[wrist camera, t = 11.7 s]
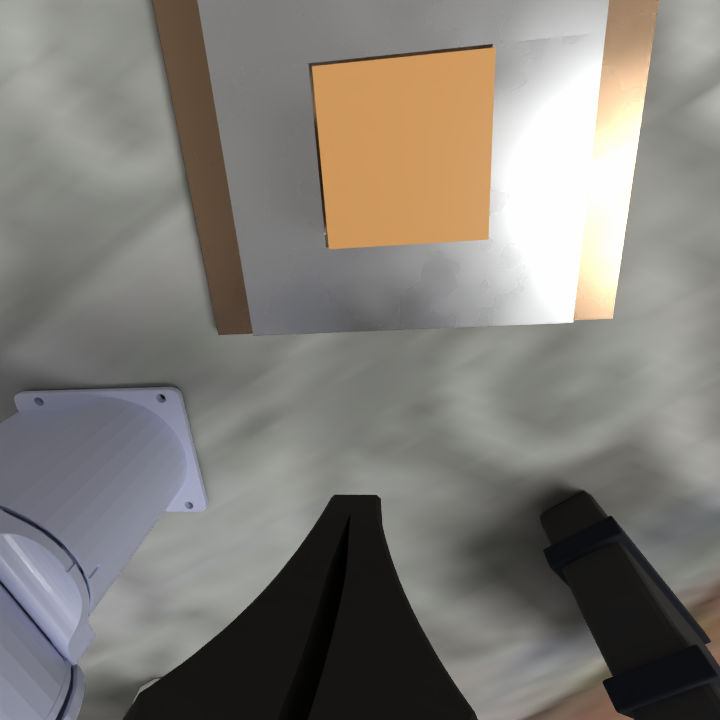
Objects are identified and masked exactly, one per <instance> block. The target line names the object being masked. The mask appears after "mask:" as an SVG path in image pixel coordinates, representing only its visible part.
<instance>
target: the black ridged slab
mask: <svg viewBox="0 0 720 720" xmlns="http://www.w3.org/2000/svg"><path fill="white" fill-rule="evenodd" d="M540 520H541V524H542V526H543V528H544V530H545V533H546V535H547V537H548V539H549V542H550V544H551V546H550V547H548V548H546V549H544V550H543V551H544V554H545V556H546V558H547V561H548V563H549V566H550V567H551V568H552V569H553V571H554V572H555V573H556V574H557V575H558V576H559V577H560V578H561V579H562V580H563V581H564V582H565V583H566V584H567V585H568V586H569V587H570V588H571V590H572V593H573V595H574V597H575V599H576V601H577V604H578V606H579V608H580V610H581V612H582V614H583V617H584V619H585V621H586V623H587V625H588V627H589V629H590V631H591V633H592V635H593V637H594V639H595V641H596V643H597V645H598V647H599V649H600V651H601V653H602V655H603V657H604V659H605V662H606V664H607V666H608V668H609V670H610V672H611V674H612V676H613V677H611V678H608V679H606V680H604V681H603V685H604V687H605V689H606V691H607V693H608V695H609V697H610V699H611V701H612V703H613V705H614V707H615V709H616V711H617V712H618V713H620V714H623V715H626V716H628V717H631V718H633V719H634V720H720V666H719V665H718V663H717V662H716V660H715V659H714V657H713V656H712V654H711V653H710V651H709V650H708V649H707V647H706V646H705V644H707V643H710V642H711V641H710V639H709V638H708V636H707V635H706V633H705V632H704V631H703V629H702V628H701V627H700V626H699V624H698V623H697V622H696V621H695V619H694V618H693V617H692V616H691V614H690V613H689V612H688V611H687V609H686V608H685V607H684V606H683V604H682V603H681V602H680V601H679V599H678V598H677V597H676V596H675V594H674V593H673V592H672V591H671V589H670V588H669V587H668V586H667V584H666V583H665V582H664V581H663V579H662V578H661V577H660V576H659V574H658V573H657V572H656V571H655V569H654V568H653V567H652V566H651V564H650V563H649V562H648V561H647V559H646V558H645V557H644V556H643V554H642V553H641V552H640V551H639V549H638V548H637V547H636V546H635V544H634V543H633V542H632V541H631V539H630V538H629V537H628V536H627V534H626V533H625V532H624V531H623V529H622V528H621V527H620V526H619V524H618V523H617V522H616V521H615V519H614V518H613V517H612V516H609V517H608V516H607V514H606V513H605V512H604V511H603V509H602V508H601V507H600V506H599V504H598V503H597V502H596V501H595V499H594V498H593V497H592V496H591V495H590V494H588V493H586V492H583V493H580V494H579V495H577V496H575V497H573V498H571V499H569V500H567V501H565V502H564V503H562V504H560V505H558V506H556V507H554V508H552V509H551V510H549V511H547V512H545V513H543V514H542V515H541V516H540Z"/></svg>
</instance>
